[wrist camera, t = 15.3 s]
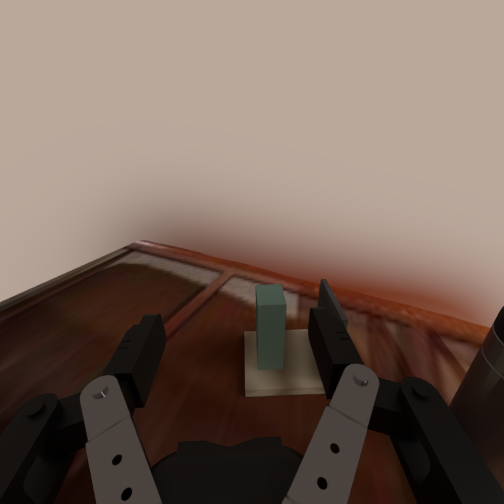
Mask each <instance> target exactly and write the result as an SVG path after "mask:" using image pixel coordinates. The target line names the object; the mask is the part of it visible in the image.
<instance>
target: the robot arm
mask: <svg viewBox="0 0 504 504" xmlns="http://www.w3.org/2000/svg"><path fill="white" fill-rule="evenodd" d="M308 337H309V342H310V345H311V348H312V352H313V355H314V358H315V361H316V365H317V368H318V371H319V374H320V378H321V381H322V384H323V387H324V391H325V394H326V397H327V399H332V400H331V402H330V404H329V405H327V406H326V408H325V410H324V412H323V415H322V417H321V419H320V422H319V424H318V426H317V428H316V431H315V433H314V435H313V437H312V440H311V442H310V444H309V446H308V449H307V451H306V453H305V456H302V455H301V454H300V453H298V452H297V451H295V450H293V449H291V448H289V447H286V446H283V445H281V438H280V437H265V438H254V439H251V440H248V441H246V442H243V443H240V444H237V445H234V446H231V447H226V446H223V445H219V444H215V443H211V442H207V441H188V442H179V443H178V448H177V451H176V452H173V453H171V454H169V455H167V456H166V457H164V458H163V459H161V460H160V461H158V462H157V463H156V464H155V465H154V466H153V467H151V465H150V462H149V460H148V457H147V454H146V452H145V449H144V446H143V444H142V441H141V438H140V436H139V433H138V430H137V428H136V425H135V422H134V420H133V417H132V416H133V413H134V410H135V408H144V406H145V403H146V401H147V398H148V395H149V392H150V389H151V386H152V383H153V380H154V377H155V375H156V372H157V369H158V366H159V363H160V360H161V357H162V354H163V352H164V349H165V345H166V334H165V330H164V326H163V322H162V318H161V315H160V314H146V315H144V316H143V318H142V320H141V322H140V324H139V325H133V326H132V327H131V328H130V329H129V330H128V331H127V332H126V333H125V335H124V337H123V339H122V340H121V343H120V344H119V346H118V348H117V350H116V351H115V353H114V355H113V356H112V358H111V360H110V362H109V364H108V365H107V367H106V369H105V371H104V373H103V374H102V376H101V377H99V378H97V379H95V380H93V381H92V382H90V383H89V384H88V385H87V386H86V387H85V388H84V390H83V391H82V392H81V393H78V394H75V395H72V396H69V397H66V398H63V399H60V400H58V398H57V396H56V395H55V394H52V393H46V394H42V395H39V396H37V397H35V398H33V399H31V400H30V401H28V402H27V403H25V404H24V405H23V406H22V407H21V408H20V409H19V410H18V412H17V413H16V414H15V416H14V417H13V418H12V420H11V421H10V423H9V424H8V425H7V427H6V428H5V430H4V431H3V432H2V434H1V435H0V504H53V503H54V501H55V498H56V496H57V494H58V492H59V490H60V487H61V485H62V483H63V481H64V479H65V476H66V474H67V472H68V470H69V468H70V465H71V463H72V461H73V459H74V457H75V454H76V452H77V450H79V449H81V448H84V447H86V451H87V456H88V462H89V467H90V472H91V477H92V482H93V488H94V493H95V498H96V503H97V504H347V501H348V497H349V494H350V490H351V487H352V483H353V479H354V476H355V472H356V468H357V465H358V461H359V458H360V454H361V450H362V447H363V443H364V440H365V436H366V432H367V429H370V430H373V431H377V432H380V433H384V434H387V435H389V436H390V439H391V441H392V443H393V446H394V448H395V451H396V453H397V455H398V458H399V460H400V463H401V465H402V467H403V470H404V472H405V475H406V477H407V480H408V482H409V484H410V487H411V489H412V492H413V494H414V496H415V499H416V501H417V504H504V306H503V307H502V309H501V310H500V312H499V314H498V316H497V317H496V319H495V321H494V323H493V325H492V327H491V328H490V330H489V332H488V334H487V336H486V338H485V340H484V341H483V344H482V345H481V347H480V349H479V351H478V353H477V355H476V357H475V358H474V360H473V362H472V364H471V366H470V368H469V370H468V372H467V373H466V375H465V377H464V379H463V381H462V383H461V385H460V386H459V388H458V390H457V392H456V394H455V396H454V398H453V399H452V401H451V403H450V405H449V407H448V406H447V404H446V403H445V401H444V400H443V398H442V397H441V395H440V394H439V392H438V391H437V390H436V389H435V388H434V387H433V386H432V385H431V384H430V383H428V382H427V381H425V380H423V379H420V378H417V377H406V378H404V379H403V380H402V382H401V383H397V382H393V381H389V380H385V379H382V378H379V377H377V376H376V374H375V373H374V372H373V371H372V370H371V369H369V368H368V367H366V366H365V365H364V364H363V362H362V360H361V358H360V356H359V354H358V352H357V350H356V348H355V346H354V344H353V342H352V340H351V338H350V336H349V334H348V333H347V330H346V328H345V326H344V324H343V323H342V322H341V321H340V320H339V319H338V318H337V317H329V314H328V312H327V310H326V308H325V307H320V308H310V314H309V324H308Z"/></svg>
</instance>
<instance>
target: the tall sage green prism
mask: <svg viewBox="0 0 504 504" xmlns="http://www.w3.org/2000/svg"><path fill="white" fill-rule="evenodd" d="M286 305H287V304H286V301H285V297H284V293H283V289H282V285H281V284H274V285H256V348H257V361H258V370H270V369H283V358H284V340H285V322H286Z"/></svg>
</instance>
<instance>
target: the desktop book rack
mask: <svg viewBox="0 0 504 504" xmlns="http://www.w3.org/2000/svg"><path fill="white" fill-rule="evenodd" d="M320 307H325V308H326V310H327V312H328V314H329V317H337V318H338V319H339V320H340V321H341V322H342V323H343V324H344V326H345V328H346V329H347V324H348V319H347V317H346V315H345V313H344V311H343V310H342V308H341V306H340V304H339V302H338V300H337V299H336V297H335V295H334V293H333V291H332V289H331V288H330V286H329V284H328V282H327V280H326V279H321V284H320V292H319V300H318V308H320ZM324 393H325V391H324V387H323V384H322V381H321V378H320V374H319V371H318V368H317V365H316V361H315V358H314V355H313V352H312V348H311V345H310V342H309V337H308V329H302V330H285V340H284V358H283V369H270V370H258V361H257V348H256V331H249V332H245V397H255V396H278V395H301V394H324Z"/></svg>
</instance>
